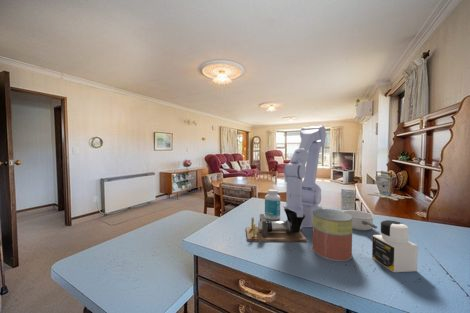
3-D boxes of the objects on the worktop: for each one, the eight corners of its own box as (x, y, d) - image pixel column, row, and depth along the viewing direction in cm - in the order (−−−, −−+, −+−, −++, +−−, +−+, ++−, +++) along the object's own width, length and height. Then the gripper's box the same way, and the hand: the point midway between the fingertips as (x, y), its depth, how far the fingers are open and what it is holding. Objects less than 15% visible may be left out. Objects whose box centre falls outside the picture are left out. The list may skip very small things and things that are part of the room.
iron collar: (263, 228, 77) (263, 214, 77) (266, 237, 69) (266, 221, 69) (259, 228, 77) (259, 214, 77) (262, 237, 69) (262, 221, 69)
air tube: (298, 230, 75) (298, 218, 75) (302, 235, 71) (302, 222, 70) (257, 229, 75) (257, 218, 75) (259, 234, 71) (259, 222, 71)
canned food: (344, 244, 65) (345, 210, 65) (358, 263, 54) (359, 221, 54) (309, 241, 68) (310, 208, 67) (316, 258, 57) (317, 218, 56)
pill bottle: (280, 221, 88) (280, 192, 87) (264, 220, 89) (264, 191, 89) (279, 215, 95) (280, 189, 95) (264, 214, 96) (265, 188, 96)
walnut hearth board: (296, 229, 78) (296, 227, 78) (306, 241, 67) (306, 239, 67) (246, 228, 78) (246, 226, 78) (247, 241, 67) (247, 238, 67)
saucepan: (357, 240, 69) (357, 225, 69) (338, 221, 89) (338, 209, 88) (393, 243, 67) (393, 227, 67) (365, 222, 86) (365, 210, 86)
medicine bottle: (371, 258, 57) (372, 218, 57) (393, 257, 58) (394, 218, 57) (393, 273, 50) (394, 227, 50) (418, 271, 51) (419, 227, 50)
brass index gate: (254, 228, 77) (254, 216, 77) (256, 237, 69) (257, 224, 69) (250, 228, 77) (250, 216, 77) (251, 237, 69) (252, 224, 69)
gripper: (279, 190, 80) (278, 222, 80) (288, 198, 65) (288, 238, 66) (296, 190, 80) (295, 222, 80) (309, 199, 65) (308, 238, 66)
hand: (293, 229), depth 73 cm, fingers closed on air tube, 4 cm apart
